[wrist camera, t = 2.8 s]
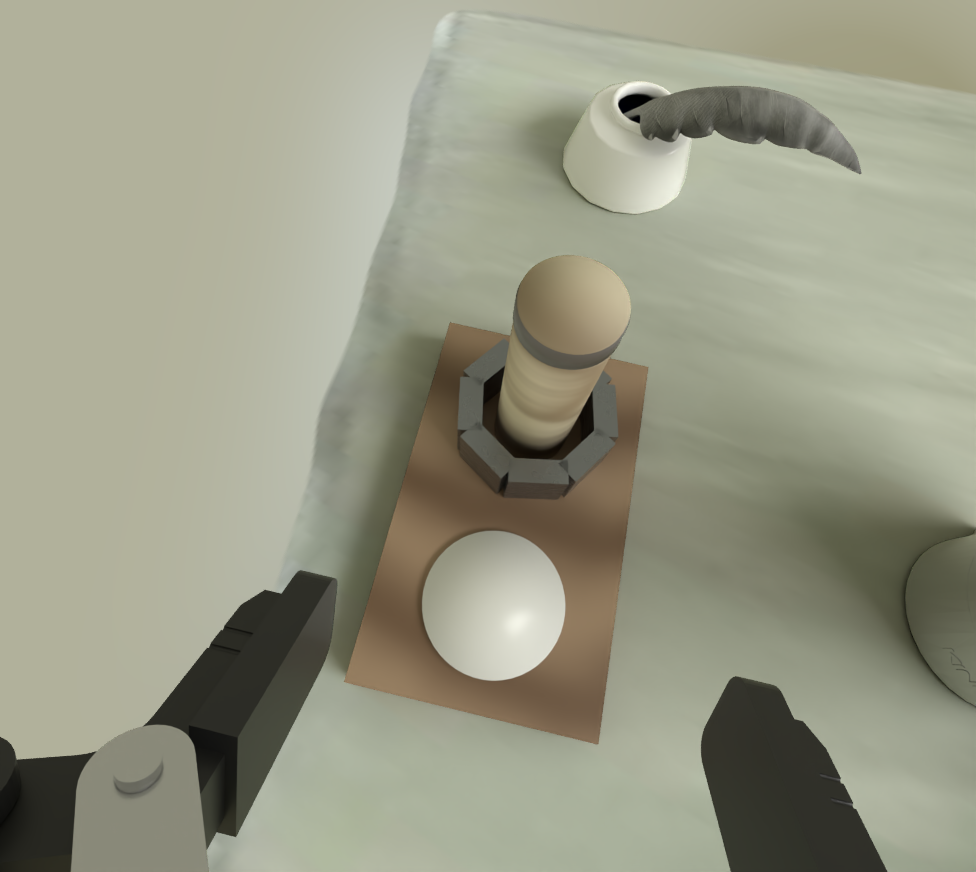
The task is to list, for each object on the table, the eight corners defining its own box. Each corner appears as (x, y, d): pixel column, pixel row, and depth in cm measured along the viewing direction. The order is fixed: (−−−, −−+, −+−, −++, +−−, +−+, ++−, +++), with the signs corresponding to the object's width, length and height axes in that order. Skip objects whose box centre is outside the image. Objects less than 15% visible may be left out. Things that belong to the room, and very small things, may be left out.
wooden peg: (530, 381, 31) (572, 235, 20) (582, 431, 30) (655, 306, 19) (478, 426, 30) (491, 296, 19) (530, 478, 29) (576, 375, 18)
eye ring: (530, 339, 32) (538, 311, 30) (631, 433, 31) (648, 412, 28) (428, 423, 30) (425, 400, 27) (530, 529, 28) (538, 517, 26)
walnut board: (450, 339, 34) (449, 322, 32) (637, 382, 34) (648, 367, 32) (351, 679, 27) (344, 682, 25) (588, 737, 27) (598, 744, 25)
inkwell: (606, 103, 43) (648, -47, 33) (811, 224, 40) (921, 94, 30) (536, 171, 40) (561, 26, 31) (751, 307, 37) (853, 191, 27)
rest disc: (496, 504, 29) (496, 502, 28) (593, 606, 27) (594, 605, 27) (392, 598, 27) (392, 598, 26) (490, 714, 25) (491, 715, 25)
